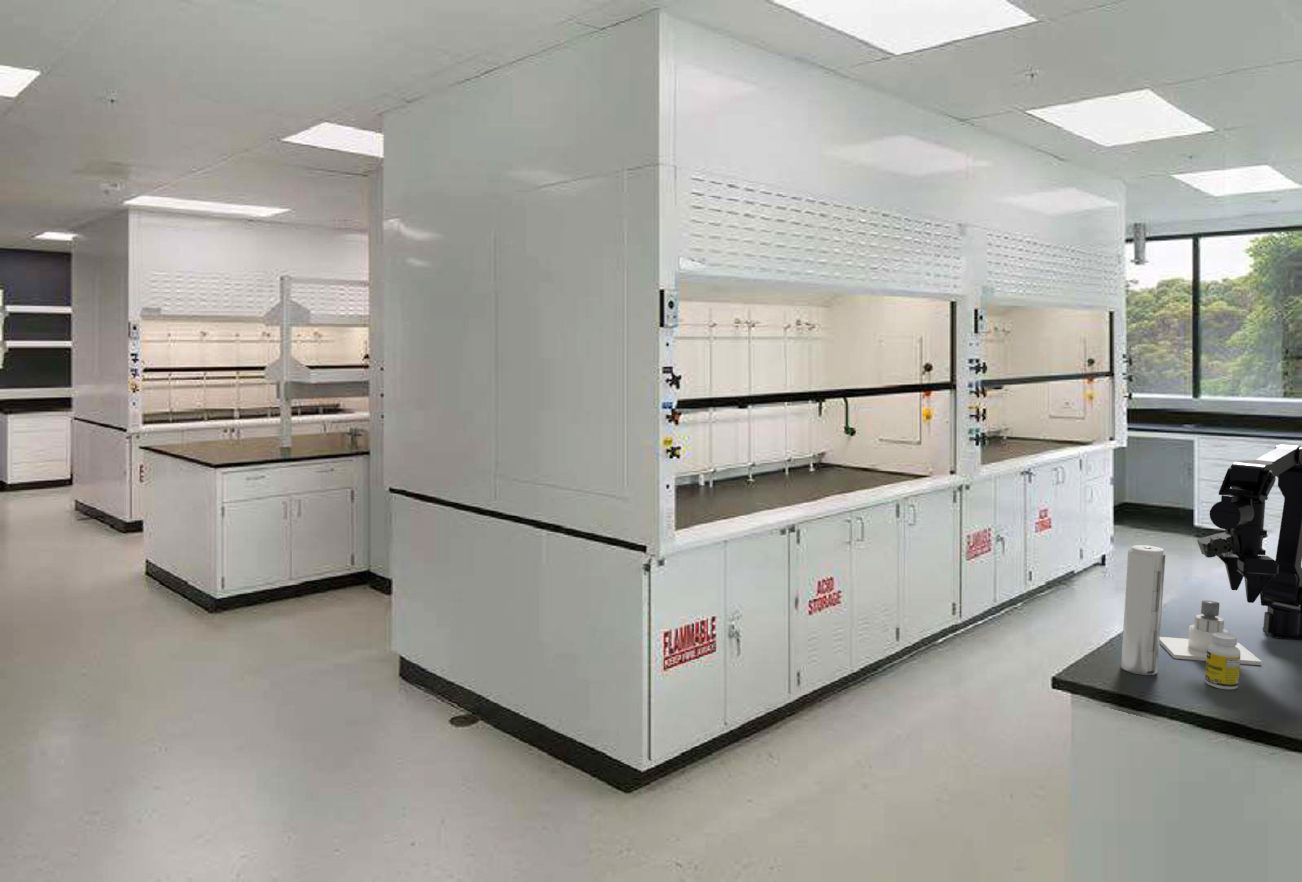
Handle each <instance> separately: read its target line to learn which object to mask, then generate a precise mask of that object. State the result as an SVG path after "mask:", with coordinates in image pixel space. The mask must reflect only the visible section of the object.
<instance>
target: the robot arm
mask: <svg viewBox="0 0 1302 882" xmlns="http://www.w3.org/2000/svg"><path fill="white" fill-rule="evenodd" d="M1276 477H1277V487H1278V488H1279V490H1280V493H1281V494H1282V496H1283V499H1284V500H1283V507H1282V508H1283V509H1282V514H1281V515H1282V516H1281V519H1280V521H1281V522H1280V527H1279V533H1278V541H1277V547H1276V553H1275V559H1274V558H1272V557H1270V556H1269V555H1266V549H1265V548H1263V541H1264V540H1263V538H1264V537H1265V536H1267V535H1268V531H1267V530H1266V529H1265V528H1264V527H1265V526H1264V525H1265V523H1264V522H1265V513H1266V512H1265V511H1266V501H1267V500H1269V495H1270V493H1271V490H1272V488H1273V487H1274V486H1275V482H1276ZM1218 496H1220V497H1221V499H1220V501H1217V502H1216V503H1215V504H1213V505H1212V506H1211V508H1210V510H1209V518H1210V521H1211V522H1212V524H1213V525H1214V526H1216V527H1217V528H1218V529H1222V530H1224V532H1220V533H1214V534H1211V535H1208V536H1203V537H1200V538H1197V539H1196V541H1197V544H1198V547H1199V549H1200V552H1201V554H1202V555H1204V556H1205V557H1206V558H1207V559H1208V558H1210V559H1211V558H1215V557H1217V558H1218V559H1219V560H1220V561H1222V563H1224V565H1225V571H1226V573H1227V578H1228V582H1229V586H1230V590H1231V591H1238V590H1239V587H1240V586H1241V584H1242V581H1243V579H1244V587H1245V597H1246V602H1247V603H1250V604H1253V603H1255V601H1257V599H1258V597H1259V598H1260V599H1259V600H1260V605H1261V606H1262V607H1265V606H1266V607H1267V609H1266V610H1267V611H1265V612H1264V618H1263V627H1262V630H1263V631H1264V632H1266V633H1267V635H1270V636H1271V637H1272V638H1274V639H1275V638H1276V639H1287V640H1298V641H1299V640H1301V641H1302V446H1301V445H1293V444H1277V445H1275V447H1274V449H1272V450H1270V451H1268V452H1266V453H1264V454H1263V455H1262V456H1259V457H1258V458H1256V459H1253V460H1252V459H1251V460H1249V459H1247V460H1238V461H1235V462H1232V464H1231V465H1230V466H1229V467H1228V468H1227V471H1226V473H1225V476H1224V478H1223V480H1222V483H1221V485H1220V489H1219V491H1218Z"/></svg>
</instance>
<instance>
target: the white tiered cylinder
mask: <svg viewBox="0 0 1302 882" xmlns="http://www.w3.org/2000/svg"><path fill="white" fill-rule="evenodd" d="M1224 624H1225V619H1224V618H1223V617H1220V616H1215V620H1208V619H1204V614H1201V613H1200V614H1195V615H1194V624H1190V625H1189V627H1188V638H1187V639H1188V647H1189V648H1191V649H1193V650H1195V651H1199V652H1203V653H1207V647H1208V646H1209V645H1210V644H1212V643H1213V641H1212V634H1213V633H1216V632H1221V633H1228V634H1229V631H1228V630H1227V629H1225V628H1224V627H1225V626H1224Z"/></svg>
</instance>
